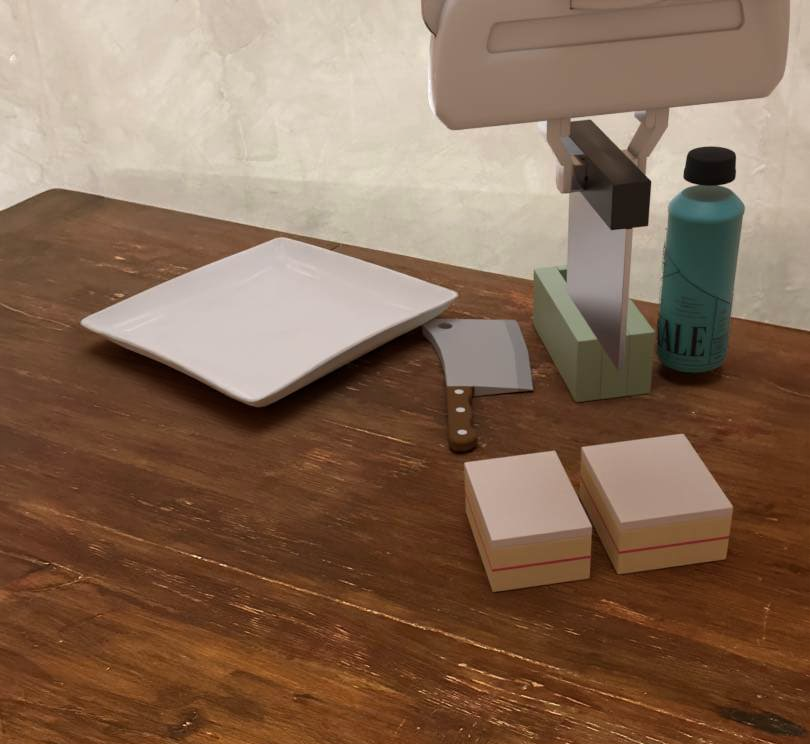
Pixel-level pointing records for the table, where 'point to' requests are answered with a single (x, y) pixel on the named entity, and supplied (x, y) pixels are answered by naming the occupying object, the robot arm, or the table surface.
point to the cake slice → (527, 521)
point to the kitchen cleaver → (477, 367)
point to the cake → (654, 504)
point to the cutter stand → (589, 343)
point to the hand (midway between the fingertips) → (600, 186)
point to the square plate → (270, 318)
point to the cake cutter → (604, 234)
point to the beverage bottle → (700, 264)
